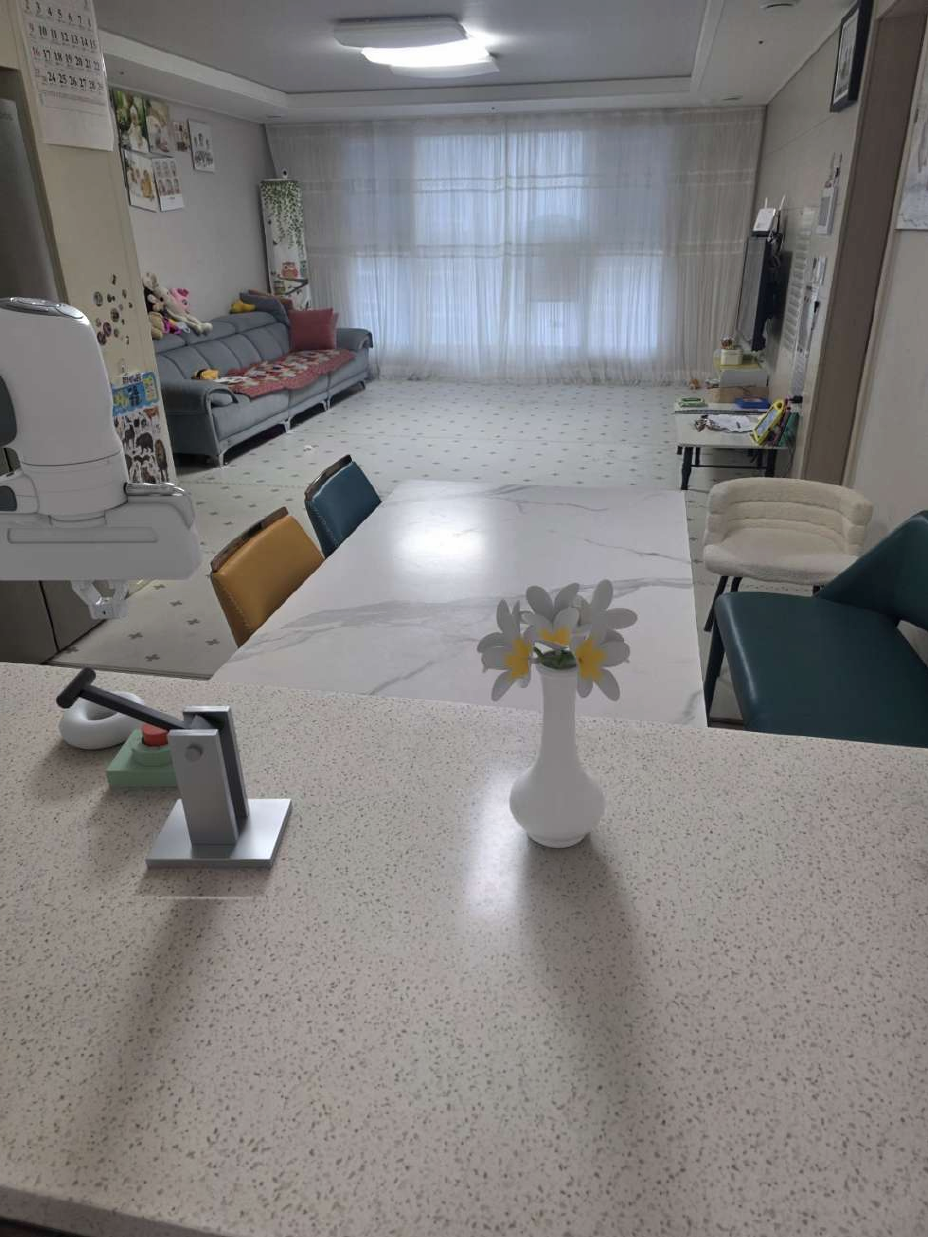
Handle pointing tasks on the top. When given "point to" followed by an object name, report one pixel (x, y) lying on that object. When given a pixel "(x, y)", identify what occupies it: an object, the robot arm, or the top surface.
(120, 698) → the lever
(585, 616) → the flower vase
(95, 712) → the donut
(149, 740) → the button
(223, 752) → the bracket
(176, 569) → the robot arm
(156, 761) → the button box
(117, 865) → the top surface
